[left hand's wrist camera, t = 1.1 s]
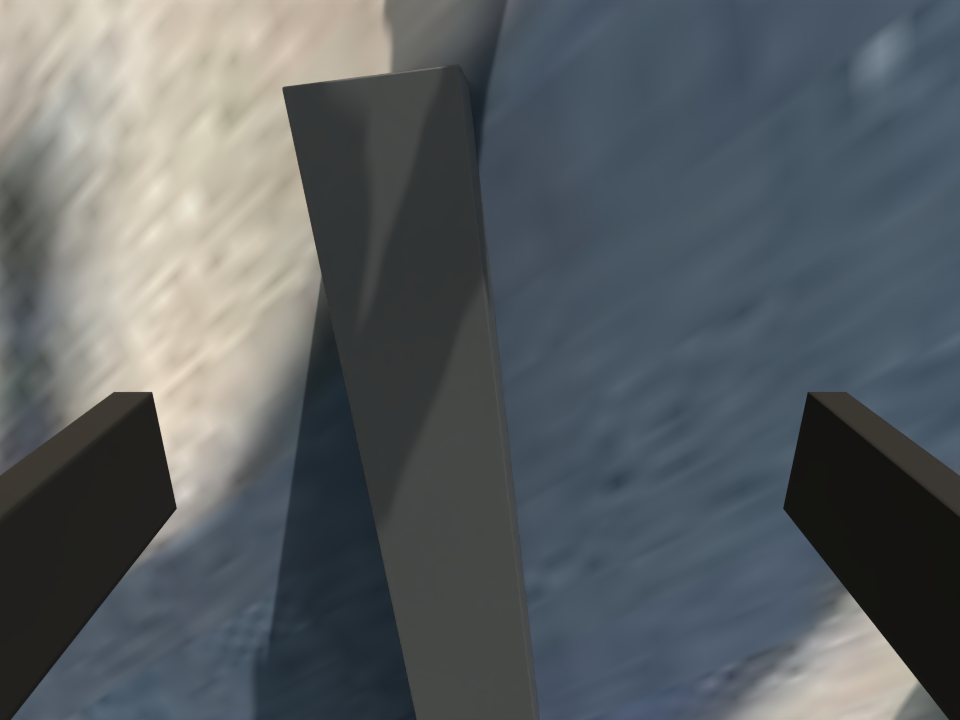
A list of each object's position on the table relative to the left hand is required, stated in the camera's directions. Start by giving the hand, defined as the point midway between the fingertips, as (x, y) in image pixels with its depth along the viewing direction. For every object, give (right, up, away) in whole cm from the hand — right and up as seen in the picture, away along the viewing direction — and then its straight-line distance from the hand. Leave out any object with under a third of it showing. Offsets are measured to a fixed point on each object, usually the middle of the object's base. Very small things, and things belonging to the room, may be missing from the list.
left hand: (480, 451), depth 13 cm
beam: (+1, -19, +24) cm, 31 cm away
